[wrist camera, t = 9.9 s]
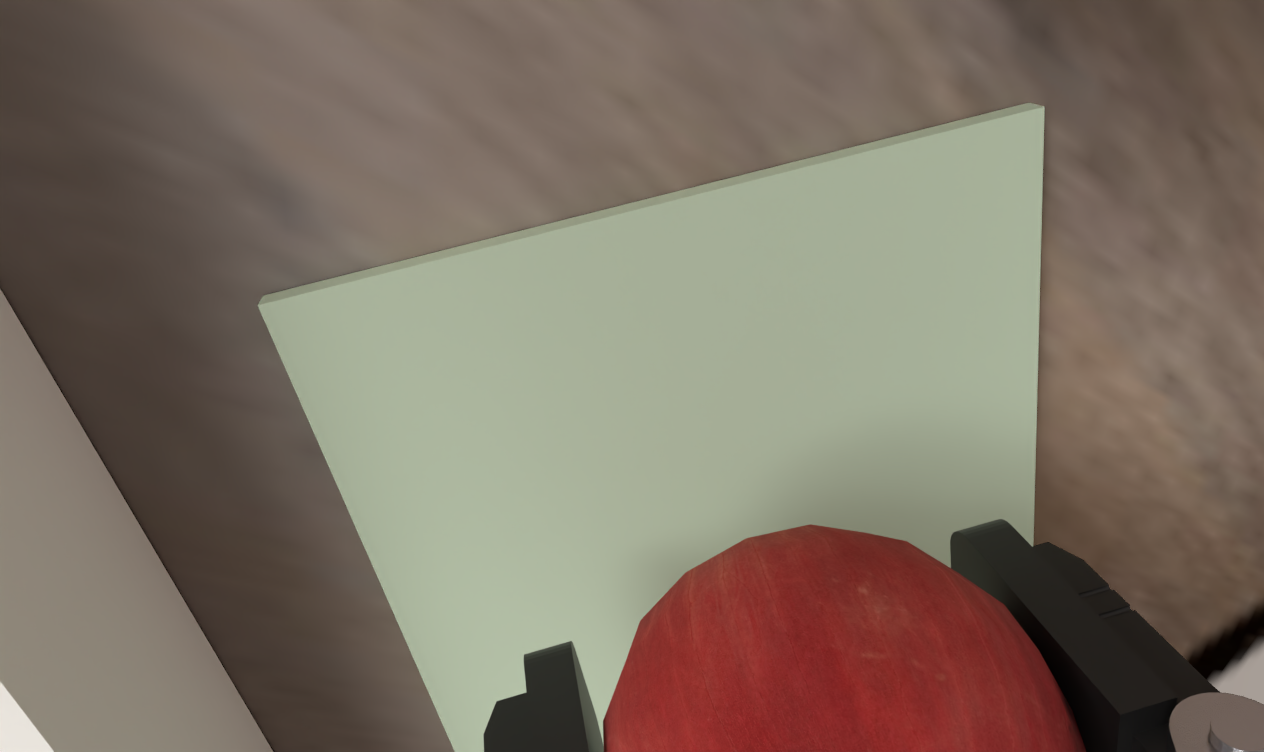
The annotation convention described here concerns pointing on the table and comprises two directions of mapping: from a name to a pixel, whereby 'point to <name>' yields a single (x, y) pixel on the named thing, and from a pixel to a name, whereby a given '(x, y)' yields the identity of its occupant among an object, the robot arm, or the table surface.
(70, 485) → the low wall
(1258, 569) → the table surface
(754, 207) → the mat
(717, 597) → the onion
